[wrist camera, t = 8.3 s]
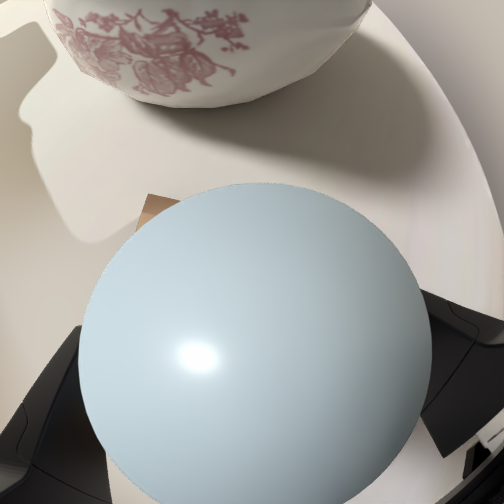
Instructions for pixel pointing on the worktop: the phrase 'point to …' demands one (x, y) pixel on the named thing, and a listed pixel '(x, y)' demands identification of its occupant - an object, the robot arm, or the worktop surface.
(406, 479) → the worktop surface
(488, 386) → the robot arm
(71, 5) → the chamber pot
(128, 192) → the worktop surface
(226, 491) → the pale blue rounded cylinder
